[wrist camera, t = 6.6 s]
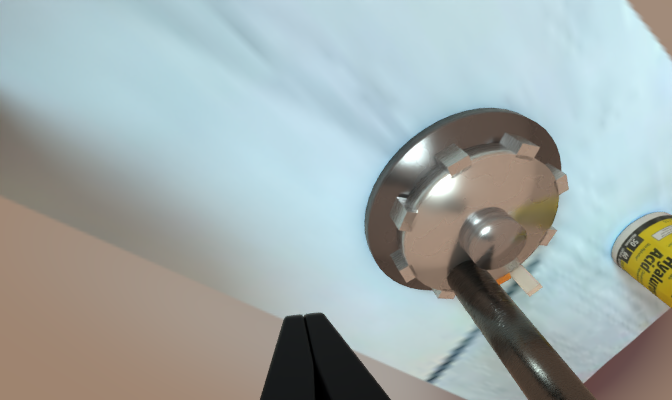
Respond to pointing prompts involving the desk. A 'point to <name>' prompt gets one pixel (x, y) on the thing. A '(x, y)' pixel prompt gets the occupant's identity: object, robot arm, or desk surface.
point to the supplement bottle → (648, 253)
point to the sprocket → (488, 248)
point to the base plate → (420, 159)
